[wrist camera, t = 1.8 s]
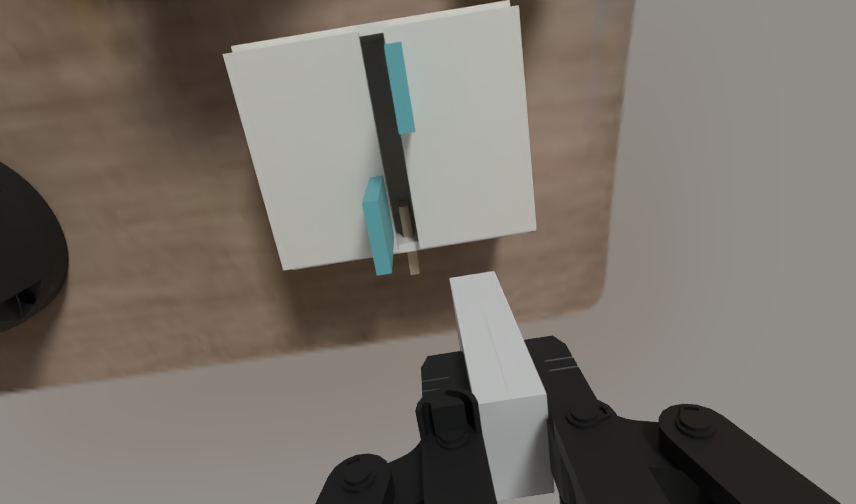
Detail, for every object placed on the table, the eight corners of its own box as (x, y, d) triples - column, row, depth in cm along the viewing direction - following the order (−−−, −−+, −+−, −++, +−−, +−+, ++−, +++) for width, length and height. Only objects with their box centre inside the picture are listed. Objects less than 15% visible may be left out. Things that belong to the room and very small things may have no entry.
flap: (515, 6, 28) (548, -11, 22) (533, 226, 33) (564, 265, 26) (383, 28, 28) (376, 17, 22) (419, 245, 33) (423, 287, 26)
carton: (319, 257, 41) (300, 300, 34) (267, 50, 36) (230, 46, 28) (508, 227, 41) (531, 263, 34) (487, 13, 35) (509, 0, 28)
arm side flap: (285, 266, 33) (257, 313, 27) (226, 54, 28) (175, 51, 22) (398, 248, 33) (397, 291, 26) (358, 32, 28) (345, 23, 22)
